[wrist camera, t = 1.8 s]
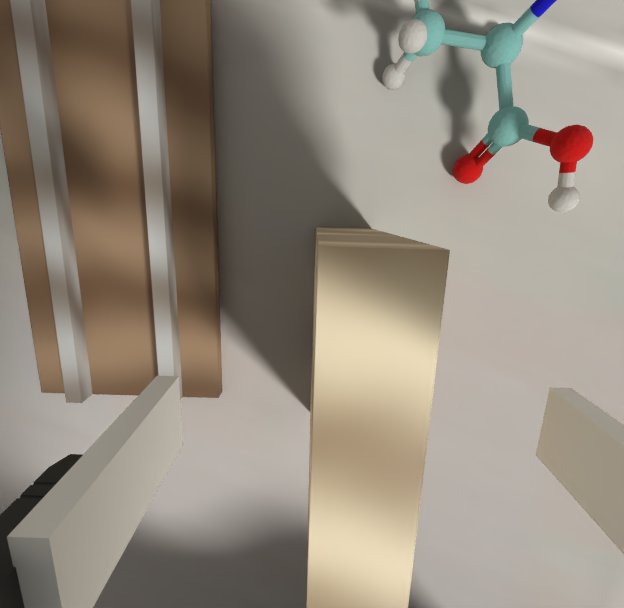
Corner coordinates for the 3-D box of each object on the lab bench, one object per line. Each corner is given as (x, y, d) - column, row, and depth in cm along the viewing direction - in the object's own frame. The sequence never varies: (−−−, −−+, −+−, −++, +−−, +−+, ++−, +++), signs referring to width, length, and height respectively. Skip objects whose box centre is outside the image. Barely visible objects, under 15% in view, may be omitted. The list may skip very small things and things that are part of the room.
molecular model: (310, 123, 19) (498, -72, 10) (372, -3, 22) (562, -243, 13) (459, 245, 23) (676, 187, 15) (494, 128, 26) (694, 21, 17)
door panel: (359, 413, 27) (405, 623, 13) (310, 412, 27) (305, 620, 13) (371, 228, 24) (450, 250, 10) (316, 227, 24) (319, 246, 10)
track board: (222, 390, 26) (213, 406, 24) (51, 385, 26) (28, 401, 24) (209, -52, 20) (196, -83, 18) (-15, -59, 20) (-54, -91, 18)
